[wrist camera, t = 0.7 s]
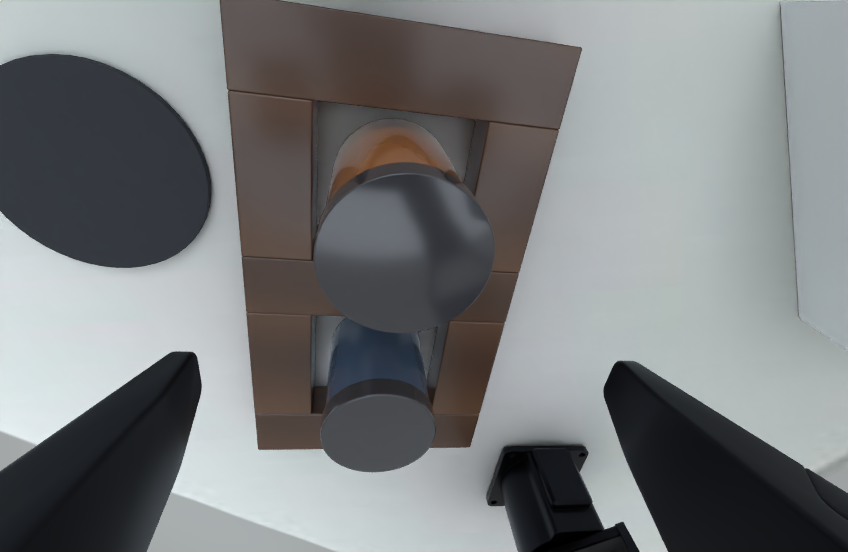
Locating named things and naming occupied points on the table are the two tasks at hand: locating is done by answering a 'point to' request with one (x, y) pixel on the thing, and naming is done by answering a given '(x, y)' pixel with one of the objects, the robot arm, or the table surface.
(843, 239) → the block
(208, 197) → the coaster
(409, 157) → the amber jar
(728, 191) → the table surface
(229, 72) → the jar stand
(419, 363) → the spice jar
